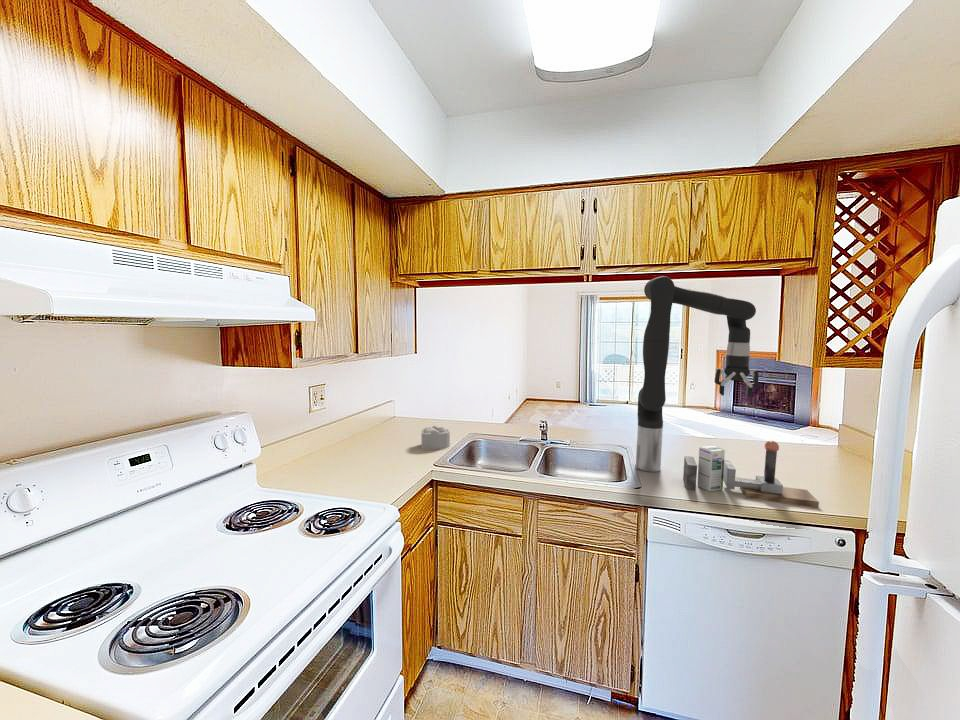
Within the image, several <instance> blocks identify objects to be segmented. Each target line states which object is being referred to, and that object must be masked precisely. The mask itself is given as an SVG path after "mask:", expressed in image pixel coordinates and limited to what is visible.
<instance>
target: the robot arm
mask: <svg viewBox="0 0 960 720" xmlns="http://www.w3.org/2000/svg"><path fill="white" fill-rule="evenodd" d="M643 289H644V291H643V293H644V295H645V297H646V298H647V299H648V300H649V301H650V312H649V318H648V321H647V325H646V326H645V331H644V334H643V340H642V341H643V343H642V360H643V370H644V378H643V386H642V388H640V389H639V392H638V397H637V398H638V399H637V436H636V452H635V453H636V454H635V469H636V470H641V471H645V472H653V473H655V472H659V471H661V467H662V464H661V463H662V448H663V431H664V430H663V428H664V418H663V407H664V405H665V403H666V400H667V399H666V397H667V396H666V372H667V371H666V370H667V365H668V360H669V359H668V356H669V351H670V348H669V347H670V333H671V315H672V314H671V313H672V307H673V304H677V305H680V306H681V305H682V306H685V307H688V308H692V309H696V310H699V311H702V312H705V313H710V314H714V315H719V316H722V315H723V316H725V317H726V321H727V327H728V340H727V342H728V343H727V347H726V351H725V352H726V353H725V354H726V357H725V367H724V369H723V368H718V367H716V369H715V375H714V383H715V384H716V385H718V387H719V390H718V392H719V394H720V395H721V396H724V395H725V385H726V384H727V383H728V382H730V381H734V382H735V381H737V382H742V381H743V382H744V384H745V385H747V386H746V391H745V397H747V398H750V397H752V395H753V394H752V393H753V388H755V387H759V371H758V370H756V369H754V370H750V369H749V368H750V367H749V366H750V356H751V355H750V353H751V345H750V344H751V343H750V342H751V329H750V328H749V327H747V321H749V320H751V319H752V318H754V317H755V315H756V313H757V308H756V306H755V305H754V304H753V303H752V302H750V301H747V300H742V299H737V298H730V297H725V296H723V295H718V294H715V293H710V292H706V291H700V290H693V289H687V288H683V287H679V286H676V285H675V283H674V281H673V280H672V278H670V277H668V276H664V275H663V276H658V277H655V278H652V279H650V280H649V281H647V282H646V284H645V285H644V288H643ZM723 373H724V374H725V377H723V379H722V380H721V381H720V378H721V375H723ZM749 375H751V376H752V382H750V380H749V378H748V376H749Z"/></svg>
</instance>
